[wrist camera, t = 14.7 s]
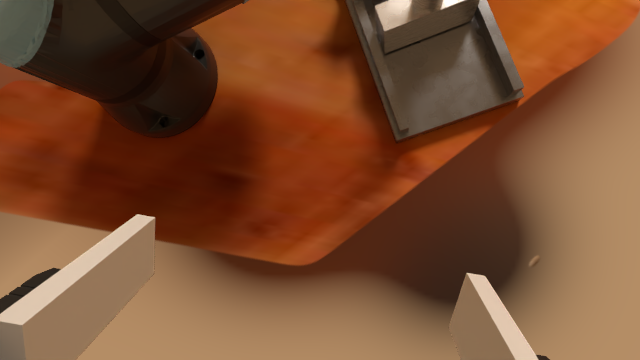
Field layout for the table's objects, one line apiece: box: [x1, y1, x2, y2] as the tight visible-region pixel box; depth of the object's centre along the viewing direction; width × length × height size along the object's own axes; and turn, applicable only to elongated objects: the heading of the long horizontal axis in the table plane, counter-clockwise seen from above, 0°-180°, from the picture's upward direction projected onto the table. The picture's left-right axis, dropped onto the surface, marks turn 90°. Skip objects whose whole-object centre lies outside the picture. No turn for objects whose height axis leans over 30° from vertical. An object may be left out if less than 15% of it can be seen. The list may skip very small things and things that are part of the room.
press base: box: [345, 0, 524, 143], centre depth 40 cm, size 22×14×8 cm, turn 18°
